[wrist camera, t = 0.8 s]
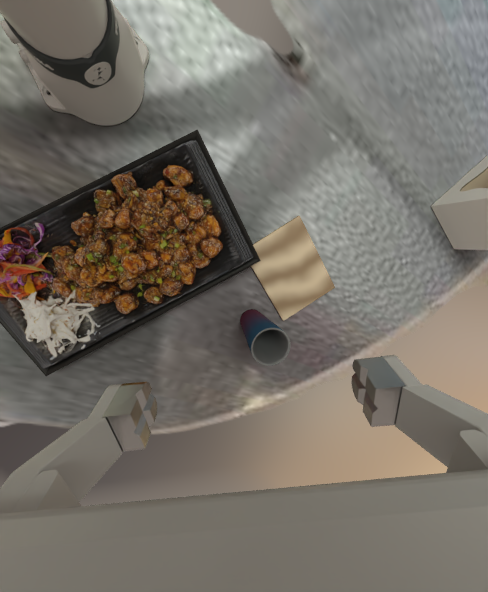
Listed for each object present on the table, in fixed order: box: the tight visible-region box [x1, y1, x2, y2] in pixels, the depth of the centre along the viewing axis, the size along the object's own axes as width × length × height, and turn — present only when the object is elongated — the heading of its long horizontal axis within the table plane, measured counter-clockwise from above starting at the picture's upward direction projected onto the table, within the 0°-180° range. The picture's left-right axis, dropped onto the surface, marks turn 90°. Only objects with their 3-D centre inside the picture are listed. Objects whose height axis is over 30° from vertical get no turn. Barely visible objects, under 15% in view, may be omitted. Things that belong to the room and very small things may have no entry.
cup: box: [240, 309, 290, 366], centre depth 50 cm, size 7×7×15 cm
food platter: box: [0, 130, 261, 376], centre depth 44 cm, size 45×25×10 cm, turn 117°
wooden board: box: [251, 216, 335, 321], centre depth 56 cm, size 18×14×1 cm
